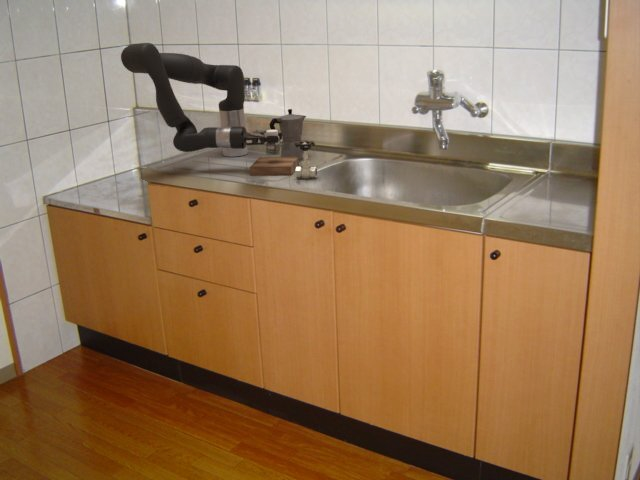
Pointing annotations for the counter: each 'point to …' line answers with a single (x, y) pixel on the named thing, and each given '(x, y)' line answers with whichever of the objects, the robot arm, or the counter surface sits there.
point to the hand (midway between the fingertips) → (279, 137)
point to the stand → (274, 166)
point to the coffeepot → (290, 133)
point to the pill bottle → (272, 144)
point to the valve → (305, 162)
